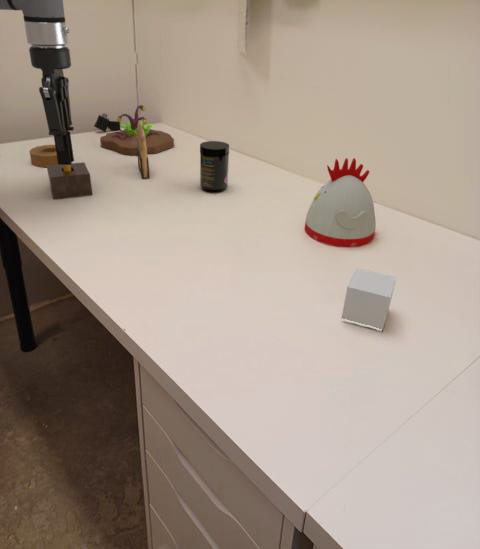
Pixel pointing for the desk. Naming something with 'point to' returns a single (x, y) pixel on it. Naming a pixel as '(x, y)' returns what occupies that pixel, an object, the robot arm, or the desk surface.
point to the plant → (128, 138)
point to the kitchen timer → (342, 209)
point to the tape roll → (44, 155)
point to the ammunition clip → (142, 152)
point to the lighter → (106, 123)
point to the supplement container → (214, 166)
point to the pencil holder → (69, 181)
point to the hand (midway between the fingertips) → (66, 162)
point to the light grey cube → (368, 298)
